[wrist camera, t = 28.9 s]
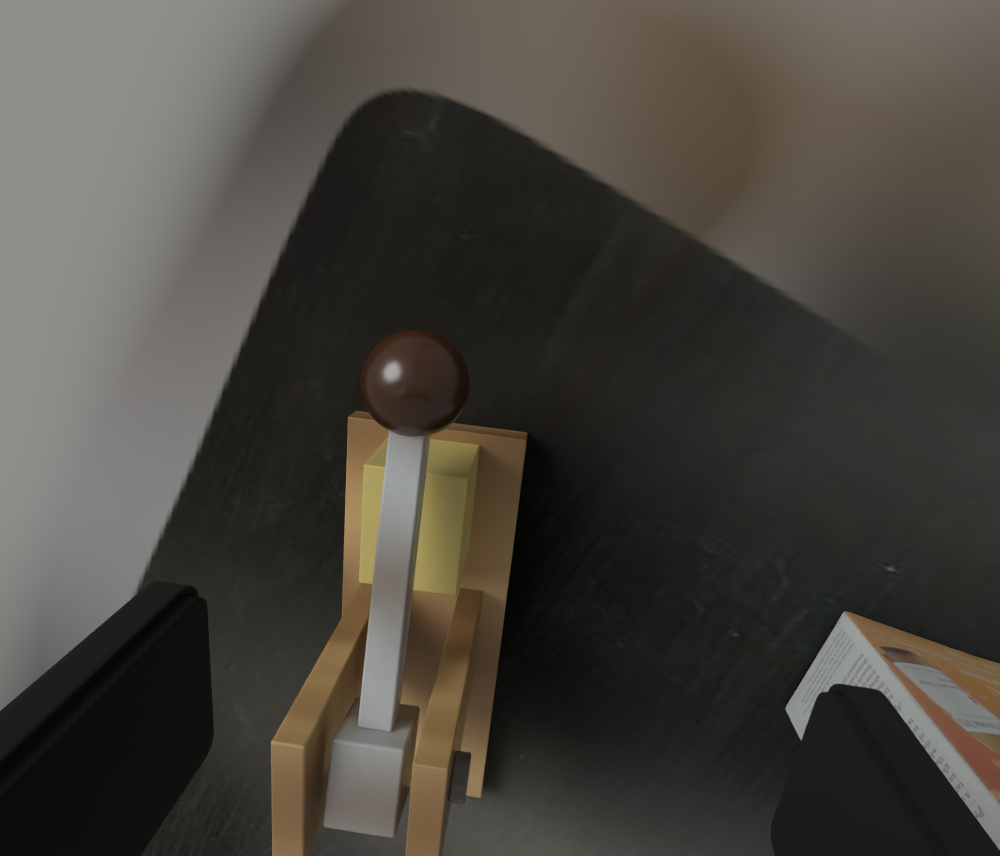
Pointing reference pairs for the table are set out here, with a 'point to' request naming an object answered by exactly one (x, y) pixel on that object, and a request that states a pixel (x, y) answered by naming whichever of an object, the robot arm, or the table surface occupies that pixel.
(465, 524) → the butter
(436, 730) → the wooden lever base
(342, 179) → the table surface
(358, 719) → the ball topped lever
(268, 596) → the table surface
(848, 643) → the small box
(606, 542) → the table surface
